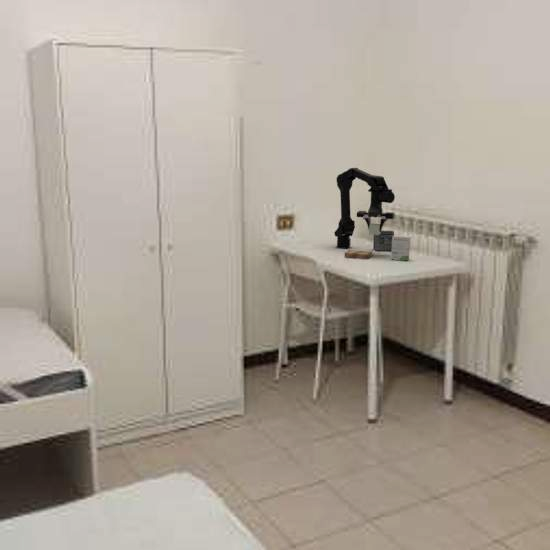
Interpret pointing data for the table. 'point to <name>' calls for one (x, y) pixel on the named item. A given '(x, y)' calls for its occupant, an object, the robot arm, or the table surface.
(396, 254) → the ink box
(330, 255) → the table surface
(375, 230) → the sage cube
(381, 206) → the robot arm
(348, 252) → the brown wooden tray
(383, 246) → the small box
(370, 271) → the table surface
